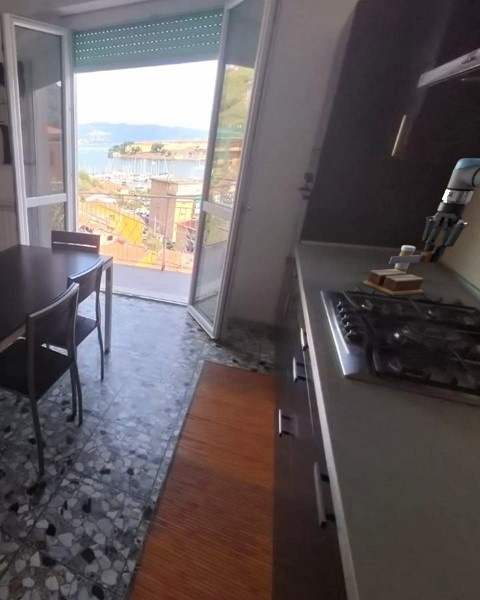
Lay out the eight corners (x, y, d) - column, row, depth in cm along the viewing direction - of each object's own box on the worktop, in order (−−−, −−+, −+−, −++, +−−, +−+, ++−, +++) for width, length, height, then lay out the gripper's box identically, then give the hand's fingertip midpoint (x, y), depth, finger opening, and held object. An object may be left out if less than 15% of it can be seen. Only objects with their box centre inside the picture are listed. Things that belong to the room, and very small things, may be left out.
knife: (434, 260, 146) (438, 250, 145) (440, 262, 144) (444, 252, 143) (386, 262, 143) (389, 253, 141) (392, 264, 141) (395, 255, 139)
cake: (422, 293, 144) (428, 279, 142) (392, 295, 142) (398, 281, 140) (390, 281, 157) (395, 268, 155) (362, 282, 155) (367, 269, 153)
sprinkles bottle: (395, 272, 168) (406, 244, 162) (406, 275, 164) (418, 246, 159) (390, 273, 166) (400, 245, 161) (401, 276, 162) (412, 248, 157)
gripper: (425, 199, 141) (402, 255, 151) (469, 205, 127) (442, 267, 137) (441, 198, 142) (417, 255, 152) (486, 205, 129) (458, 266, 138)
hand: (429, 260), depth 145 cm, fingers closed on knife, 2 cm apart
